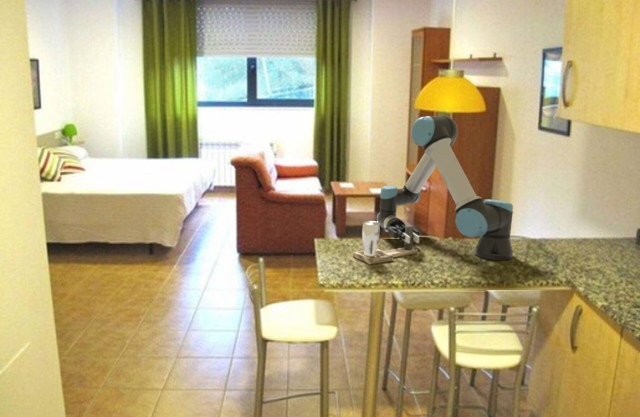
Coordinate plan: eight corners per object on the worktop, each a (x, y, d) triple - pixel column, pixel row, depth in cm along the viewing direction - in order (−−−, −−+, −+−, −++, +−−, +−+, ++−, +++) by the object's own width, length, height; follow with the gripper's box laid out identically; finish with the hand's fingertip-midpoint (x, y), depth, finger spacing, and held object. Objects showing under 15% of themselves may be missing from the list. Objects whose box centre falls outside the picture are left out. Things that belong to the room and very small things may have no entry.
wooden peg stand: (422, 255, 245) (424, 228, 243) (369, 264, 232) (371, 235, 229) (404, 248, 255) (406, 221, 252) (353, 256, 241) (354, 228, 238)
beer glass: (366, 262, 234) (368, 225, 231) (357, 257, 240) (359, 221, 237) (382, 260, 237) (383, 223, 234) (372, 255, 243) (374, 219, 240)
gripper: (411, 233, 267) (431, 248, 244) (376, 234, 263) (393, 249, 241) (412, 217, 265) (433, 230, 243) (377, 218, 262) (394, 231, 239)
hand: (413, 240), depth 242 cm, fingers closed on wooden peg stand, 3 cm apart
